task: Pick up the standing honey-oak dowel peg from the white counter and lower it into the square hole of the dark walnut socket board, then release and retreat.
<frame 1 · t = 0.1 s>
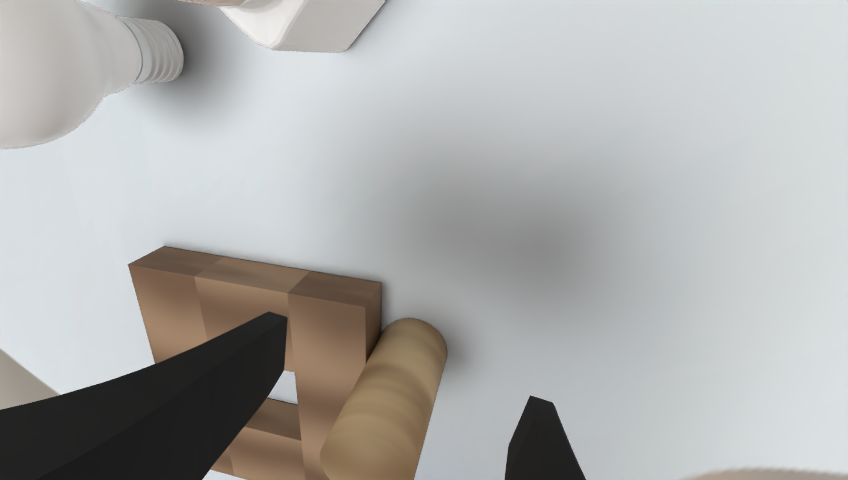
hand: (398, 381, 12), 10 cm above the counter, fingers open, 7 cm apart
lightbulb: (172, 52, 20), on the counter
peg: (413, 347, 24), on the counter
socket board: (279, 370, 27), on the counter
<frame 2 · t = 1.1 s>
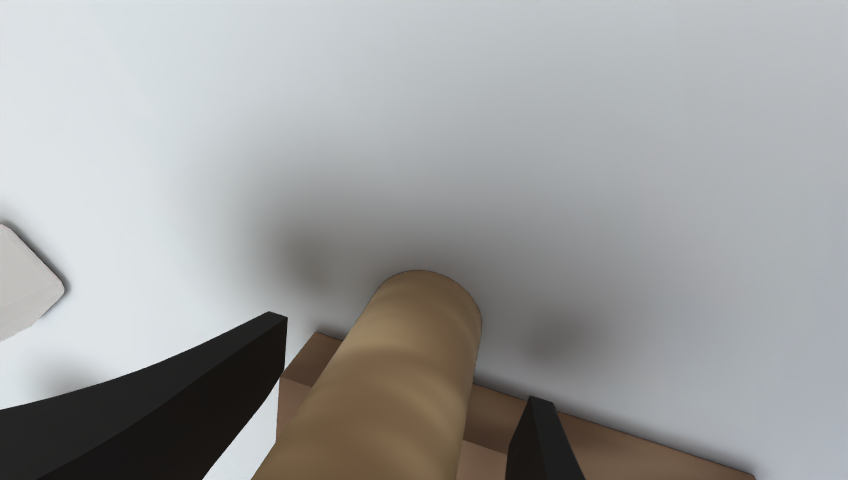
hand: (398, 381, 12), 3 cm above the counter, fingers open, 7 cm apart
peg: (424, 321, 14), on the counter
salt shaker: (29, 270, 19), on the counter
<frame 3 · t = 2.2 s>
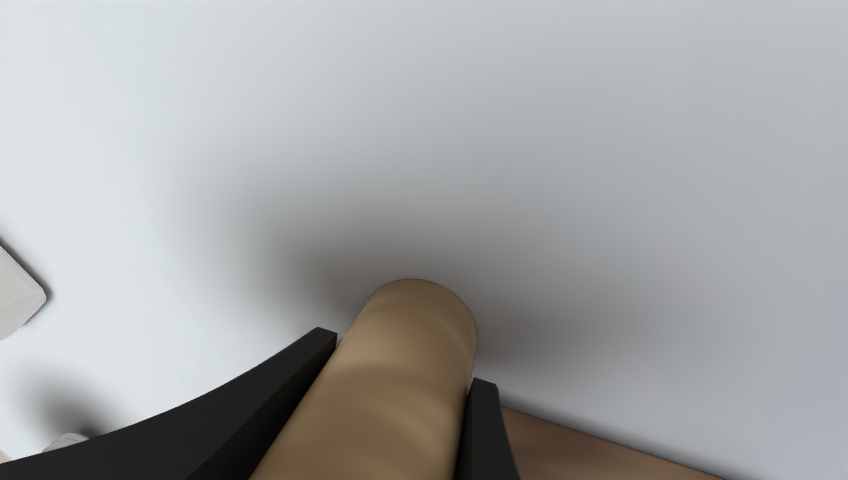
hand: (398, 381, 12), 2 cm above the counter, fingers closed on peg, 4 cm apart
lightbulb: (98, 438, 21), on the counter
peg: (418, 331, 14), on the counter, touching gripper
salt shaker: (10, 277, 18), on the counter
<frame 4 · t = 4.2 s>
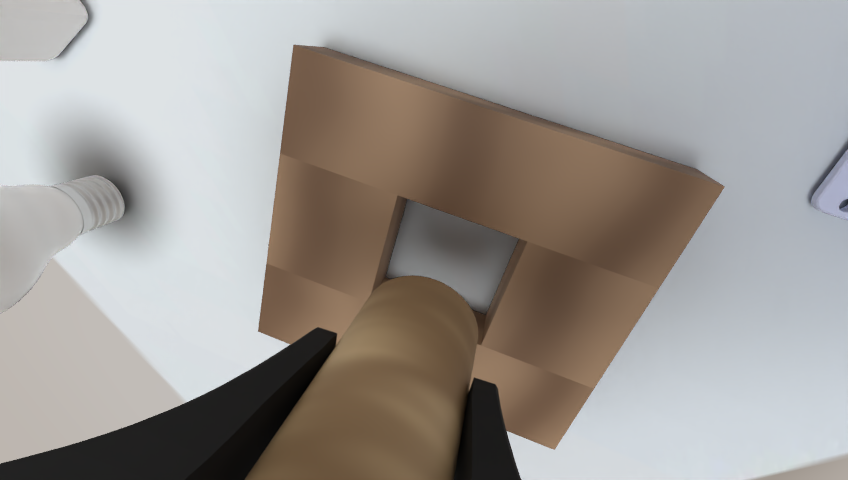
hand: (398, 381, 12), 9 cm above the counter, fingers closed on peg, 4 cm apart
lightbulb: (117, 194, 23), on the counter
peg: (419, 328, 14), point 7 cm above the counter, touching gripper
salt shaker: (52, 4, 20), on the counter
socket board: (451, 250, 20), on the counter
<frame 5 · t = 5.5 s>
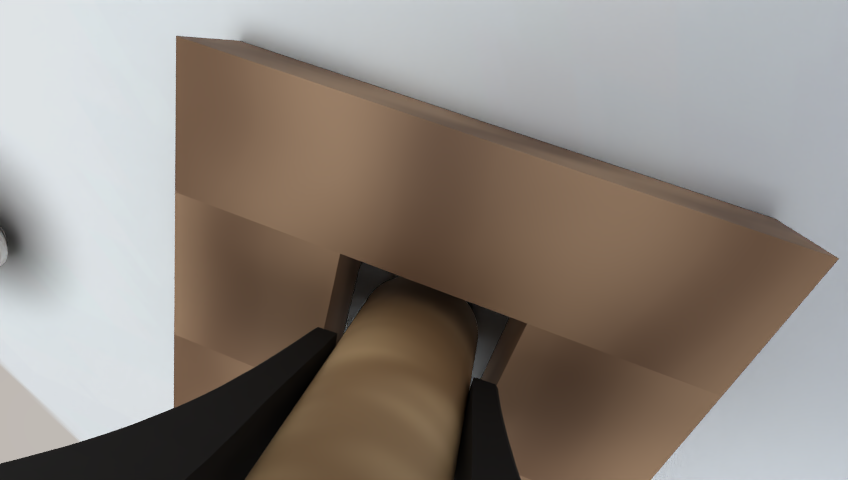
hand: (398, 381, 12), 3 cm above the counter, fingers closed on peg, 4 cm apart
lightbulb: (3, 230, 18), on the counter
peg: (419, 328, 14), point 1 cm above the counter, touching gripper
socket board: (424, 315, 15), on the counter
when the fingers open (3 cm above the counter, at t = 6.2 s): peg stays where it is, on the counter.
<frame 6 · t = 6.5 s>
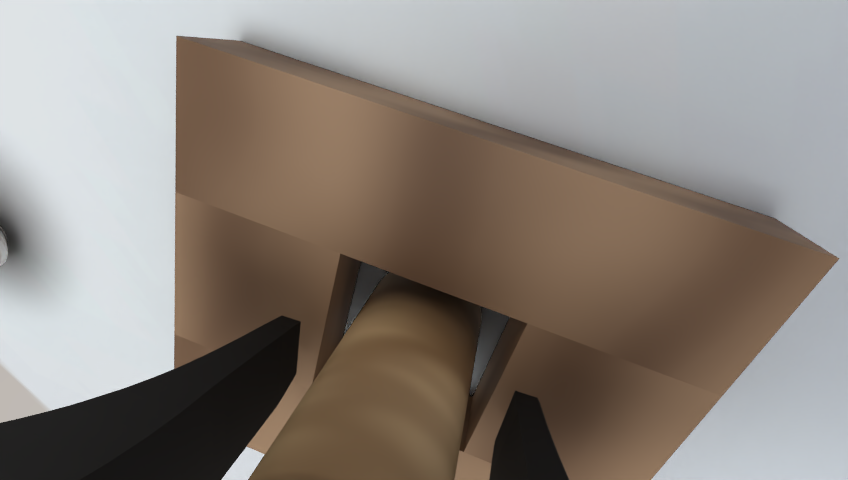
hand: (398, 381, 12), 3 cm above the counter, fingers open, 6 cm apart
lightbulb: (3, 230, 18), on the counter
peg: (425, 313, 15), on the counter
socket board: (424, 315, 15), on the counter
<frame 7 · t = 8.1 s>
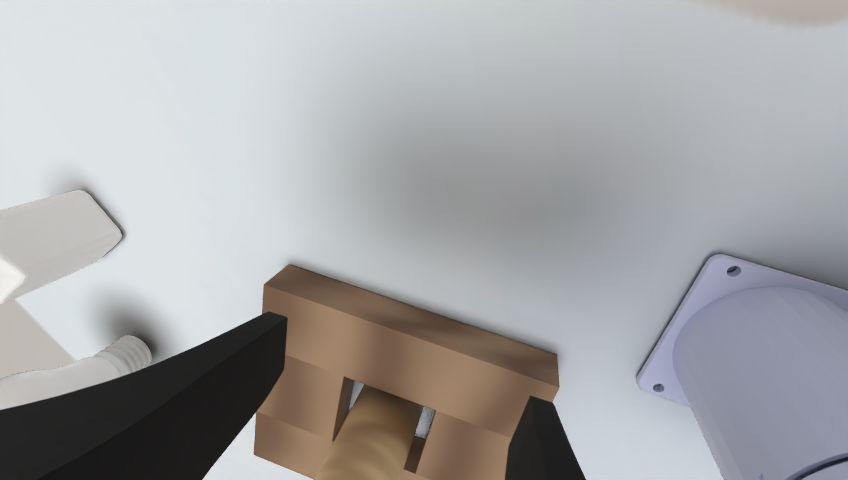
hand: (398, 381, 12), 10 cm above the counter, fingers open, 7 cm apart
lightbulb: (145, 343, 31), on the counter
peg: (394, 394, 26), on the counter
salt shaker: (96, 223, 27), on the counter
socket board: (393, 395, 26), on the counter
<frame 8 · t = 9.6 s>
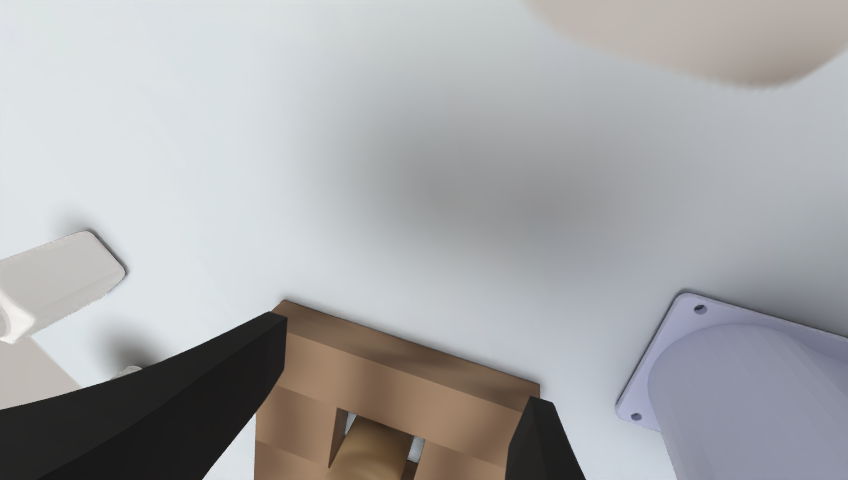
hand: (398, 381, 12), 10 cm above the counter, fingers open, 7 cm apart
peg: (387, 421, 27), on the counter
salt shaker: (101, 261, 28), on the counter
socket board: (386, 422, 27), on the counter
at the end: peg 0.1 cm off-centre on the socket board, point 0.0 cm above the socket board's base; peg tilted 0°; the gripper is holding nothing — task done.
